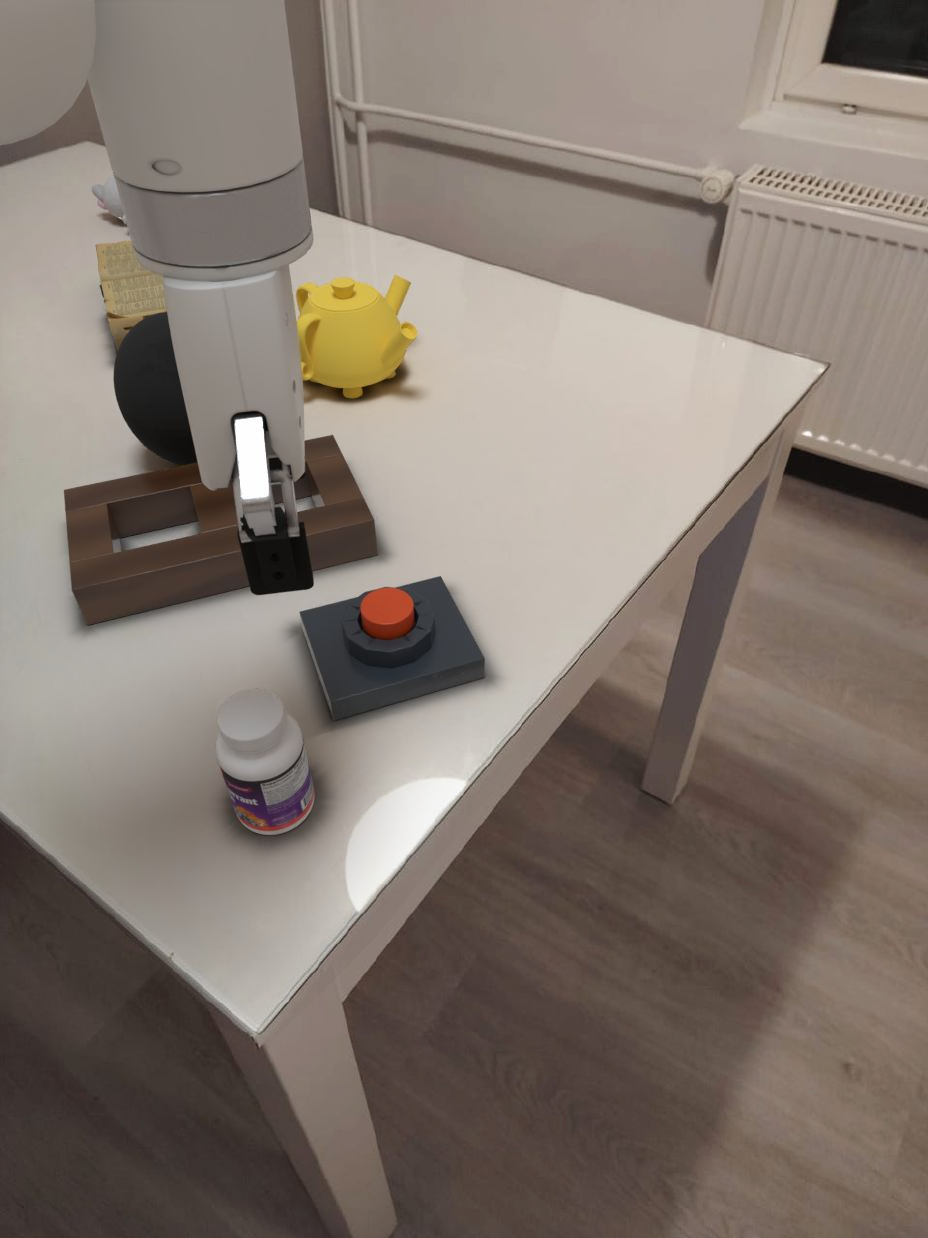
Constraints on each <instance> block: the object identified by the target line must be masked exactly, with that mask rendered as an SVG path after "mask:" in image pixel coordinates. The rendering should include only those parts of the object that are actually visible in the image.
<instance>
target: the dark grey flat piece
mask: <svg viewBox="0 0 928 1238" xmlns="http://www.w3.org/2000/svg"><path fill="white" fill-rule="evenodd" d="M382 588H396V589H400V590H402V591H404V592H406V593H407V594H408V595H409V596H410V597H411V598H412V600H413V604H414V625H413V627H412V629H411V630H410V631H409V632H408V633H407V634H406V635H404V636H403V637H400V638H396V639H392V640H383V639H376V638H373V637H372V636H370V635H369V634H367V633H366V631H365V630H364V628H363V626H362V618H361V610H360V606H361V603H362V600H363V599H364V598H365V596H367V595H368V594H369V593H371V592H373V591H375V590H378V589H382ZM299 617H300V623H301V629H302V632H303V636H304V638H305V642H306V644H307V646H308V650H309V653H310V655H311V658H312V662H313V664H314V667H315V670H316V673H317V675H318V679H319V681H320V685H321V687H322V688H321V689H322V691H323V693H324V696H325V700H326V702H327V705H328V708H329V711H330V715H331V717H332V720H333V721H334V722H336V721H338V720H342V719H346V718H348V717H352V716H356V715H359V714H362V713H365V712H369V711H372V710H377V709H380V708H383V707H386V706H390V705H393V704H397V703H401V702H404V701H408V700H411V699H414V698H418V697H422V696H424V695H428V694H432V693H435V692H438V691H442V690H445V689H449V688H452V687H456V686H459V685H464V684H466V683H469V682H474V681H477V680H480V679H484V678H485V677H486V676H485V674H486V673H485V672H486V671H485V670H486V669H485V667H486V658H485V656H484V654H483V652H482V650H481V649H480V647H479V645H478V643H477V641H476V639H475V637H474V635H473V634H472V631H471V630H470V628H469V625H468V624H467V622H466V621H465V618H464V617H463V615H462V612H461V611H460V609H459V607H458V606H457V604H456V601H455V600H454V598H453V596H452V594H451V592H450V591H449V588H448V587H447V584H446V583H445V581H444V579H443V578H442V575H438V576H435V577H431V578H427V579H423V580H419V581H415V582H410V583H406V584H403V585H399V586H395V587H392V586H383V587H379V588H375V589H371V590H367V591H363V592H362V593H361V594H359V596H356V597H353V598H352V597H351V598H348V599H345V600H340V601H335V602H332V603H329V604H324V605H319V606H317V607H313V608H309V609H305V610H301V611H299Z"/></svg>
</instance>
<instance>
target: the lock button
mask: <svg viewBox="0 0 928 1238" xmlns="http://www.w3.org/2000/svg"><path fill="white" fill-rule="evenodd" d="M381 588H382V589H379V588H377V589H378V590H375V589H374V590H375V591H373V592H371V593H369V594H368V595H367V596H365V598H364V599H363V600H362V603H361V606H360V610H361V618H362V626H363V628H364V630H365V631H366V633H367V634H369V635H370V636H372V637H373V638H376V639H383V640H392V639H396V638H400V637H403V636H404V635H406V634H407V633H408V632H409V631H410V630H411V629H412V627H413V625H414V604H413V600H412V598H411V597H410V596H409V595H408V594H407V593H406V592H404V591H402V590H400V589H396V588H395V587H394V588H383V587H381Z"/></svg>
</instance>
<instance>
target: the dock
mask: <svg viewBox="0 0 928 1238" xmlns="http://www.w3.org/2000/svg"><path fill="white" fill-rule="evenodd" d="M305 473H306V475H305V477H304V478H303V479H300V480H297V481H296V482H294V481H293V485H294V492H295V500H298V499H302V498H307V497H311V498H312V500H313V503H314V505H315V507H313V508H309V509H304V510H300V511H297V515H298V522H304V524H305V530H306V536H307V542H308V548H309V554H310V560H311V566H312V571H317V570H321V569H325V568H330V567H334V566H338V565H342V564H346V563H351V562H355V561H358V560H363V559H366V558H371V557H375V556H378V555H379V552H378V551H379V550H378V541H377V532H376V531H377V530H376V521H375V520H376V519H375V518H374V516H373V514H372V511H371V509H370V508H369V506H368V503H367V502H366V500H365V498H364V495H363V493H362V491H361V489H360V487H359V485H358V483H357V481H356V479H355V477H354V475H353V472H352V471H351V468H350V467H349V464H348V463H347V461H346V458H345V456H344V454H343V453H342V450H341V448H340V446H339V444H338V442H337V440H336V438H335V436H334V434H330V435H325V436H320V437H315V438H310V439H305ZM231 478H232V477H231ZM231 478H230V481H229V485H228V488H217V490H210V489H209V488H207V487H206V486H205V485H204V484H203V483H202V480H201V475H200V471H199V466H198V462H197V463H192V464H187V465H177V466H173V467H168V468H163V469H159V470H153V471H148V472H144V473H138V474H134V475H130V476H129V475H128V476H124V477H119V478H113V479H109V480H104V481H100V482H95V483H90V484H85V485H81V486H76V487H70V488H66V489H63V499H64V510H65V512H64V513H65V523H66V524H65V525H66V534H67V549H68V560H69V572H70V573H69V574H70V585H71V592H72V594H73V597H74V599H75V601H76V603H77V605H78V608H79V610H80V613H81V615H82V616H83V619H84V621H85V623H86V626H91V625H95V624H99V623H103V622H108V621H111V620H117V619H119V618H120V619H121V618H124V617H128V616H131V615H136V614H140V613H144V612H149V611H153V610H156V609H160V608H164V607H168V606H169V607H170V606H173V605H177V604H181V603H185V602H189V601H194V600H198V599H203V598H205V597H206V598H207V597H210V596H214V595H219V594H222V593H226V592H231V591H235V590H239V589H243V588H247V587H250V585H249V581H248V577H247V573H246V569H245V565H244V561H243V556H242V552H241V548H240V544H239V540H238V536H237V533H238V529H239V528H238V521H237V514H236V506H235V499H234V492H233V484H232V481H231ZM271 488H272V494H273V499H274V504H279V503H283V495H282V487H281V484H277V485H271ZM193 522H198V523H199V528H200V532H201V533H197V534H193V535H189V536H183V537H180V538H175V539H171V540H166V541H161V542H157V543H153V544H149V545H148V544H147V545H144V546H140V547H136V548H135V547H134V548H131V549H125V550H122V545H121V539H122V538H126V537H131V536H136V535H139V534H143V533H148V532H154V531H157V530H162V529H166V528H172V527H176V526H181V525H186V524H189V523H193Z"/></svg>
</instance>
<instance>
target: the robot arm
mask: <svg viewBox="0 0 928 1238" xmlns="http://www.w3.org/2000/svg"><path fill="white" fill-rule="evenodd" d="M285 4H286V3H285V0H0V146H5V145H6V146H7V145H11V144H14V143H18V142H20V141H23V140H26V139H30V138H33V137H35V136H36V135H38V134H40V133H42V132H43V131H45V130H46V129H48V128H50V127H51V126H53V125H55V124H56V123H57V122H59V120H60V119H61V118H62V117H63V116H64V115H65V114H66V113H67V112H69V110H70V109H71V108H72V107H73V106H74V104H75V103H76V101H77V99H78V98H79V96H80V94H81V92H82V91H83V90H84V87H85V86H86V85H87V84H86V83H88V87H89V90H90V94H91V98H92V101H93V105H94V109H95V112H96V115H97V119H98V125H99V126H100V131H101V134H102V138H103V142H104V147H105V150H106V153H107V157H108V160H109V164H110V168H111V171H112V175H114V178H115V182H116V186H117V189H118V193H119V197H120V200H121V204H122V208H123V212H124V215H125V219H126V223H127V224H126V227H127V230H128V233H129V237H130V241H132V246H133V250H134V253H135V257H136V259H137V261H138V262H139V263H140V264H141V266H143V267H144V268H146V269H147V270H149V271H151V272H153V273H156V274H159V275H161V276H162V277H163V285H164V293H165V301H166V308H167V314H168V321H169V327H170V332H171V338H172V344H173V349H174V354H175V359H176V364H177V369H178V374H179V378H180V383H181V388H182V392H183V397H184V401H185V406H186V410H187V415H188V419H189V424H190V429H191V433H192V438H193V442H194V447H195V452H196V457H197V461H198V466H199V471H200V475H201V480H202V483H203V484H204V485H205V486H206V487H207V488H209V489H210V490H217V488H228V485H229V481H230V478H231V477H232V478H231V481H232V484H233V492H234V499H235V506H236V514H237V521H238V528H239V529H238V533H237V536H238V540H239V544H240V548H241V552H242V556H243V561H244V565H245V569H246V573H247V577H248V581H249V585H250V586H249V590H250V592H251V594H252V595H255V596H265V595H272V594H282V593H290V592H298V591H306V590H307V591H308V590H311V589H312V588H313V587H314V586H315V580H314V579H315V578H314V572H313V571H314V570H313V571H312V566H311V560H310V554H309V548H308V542H307V536H306V530H305V524H304V522H298V515H297V512H298V509H297V502H296V501H297V499H295V492H294V485H293V481H294V482H296V481H297V480H300V479H303V478H304V477H305V475H306V473H305V440H306V438H305V436H306V435H305V433H306V432H305V400H304V380H303V379H302V367H301V355H300V346H299V337H298V329H297V313H296V304H295V299H294V292H293V284H292V283H293V282H292V276H291V270H290V265H291V264H293V263H295V262H297V261H299V260H300V259H301V258H303V257H304V256H305V255H306V254H307V253H308V252H309V250H311V248H312V246H313V244H314V241H315V240H314V232H313V225H312V216H311V208H310V200H309V199H310V198H309V191H308V184H307V176H306V167H305V166H306V165H305V162H304V161H305V159H304V155H303V154H304V151H303V143H302V135H301V126H300V118H299V110H298V101H297V95H296V86H295V85H296V84H295V77H294V70H293V69H294V67H293V62H292V61H293V60H292V53H291V52H292V51H291V45H290V36H289V29H288V22H287V21H288V20H287V15H286V14H287V13H286V5H285ZM277 484H281V487H282V495H283V502H282V503H283V508H282V506H276V505H275V504H274V499H273V494H272V488H271V485H277Z"/></svg>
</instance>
